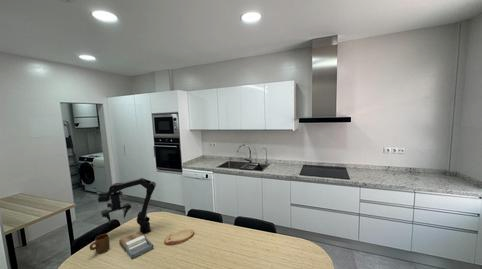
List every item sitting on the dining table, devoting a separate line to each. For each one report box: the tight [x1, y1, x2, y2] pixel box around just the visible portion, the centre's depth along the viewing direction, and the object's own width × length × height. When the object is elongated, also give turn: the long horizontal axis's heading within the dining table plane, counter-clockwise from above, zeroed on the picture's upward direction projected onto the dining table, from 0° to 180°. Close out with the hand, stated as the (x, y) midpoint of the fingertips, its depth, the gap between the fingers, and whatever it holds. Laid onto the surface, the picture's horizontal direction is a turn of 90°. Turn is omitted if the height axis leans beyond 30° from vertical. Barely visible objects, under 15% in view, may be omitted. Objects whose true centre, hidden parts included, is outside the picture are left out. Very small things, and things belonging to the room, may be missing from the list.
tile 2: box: [128, 240, 147, 252], centre depth 132 cm, size 11×4×2 cm, turn 137°
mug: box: [89, 233, 110, 255], centre depth 128 cm, size 12×8×9 cm, turn 165°
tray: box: [125, 238, 155, 260], centre depth 130 cm, size 13×12×3 cm
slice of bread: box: [163, 229, 195, 246], centre depth 142 cm, size 18×18×4 cm
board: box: [119, 231, 148, 252], centre depth 138 cm, size 14×12×3 cm
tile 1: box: [126, 236, 145, 248], centre depth 133 cm, size 11×4×2 cm, turn 137°
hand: (117, 220), depth 146 cm, fingers open, 9 cm apart
